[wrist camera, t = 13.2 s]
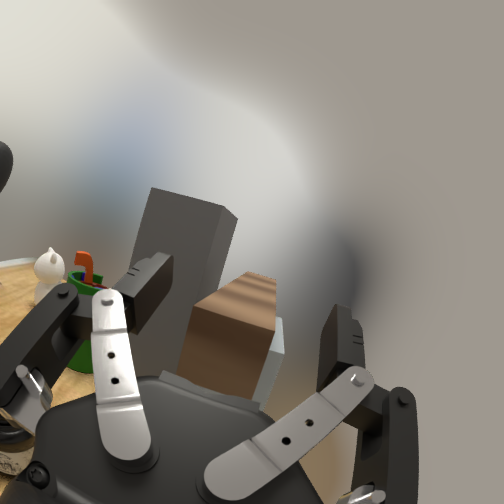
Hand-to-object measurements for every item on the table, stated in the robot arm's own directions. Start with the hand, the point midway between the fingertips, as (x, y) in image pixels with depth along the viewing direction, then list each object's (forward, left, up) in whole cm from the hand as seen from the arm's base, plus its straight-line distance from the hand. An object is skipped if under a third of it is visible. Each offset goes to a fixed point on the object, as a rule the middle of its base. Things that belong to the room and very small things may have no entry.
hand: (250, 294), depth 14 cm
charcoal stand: (+11, +23, -27) cm, 37 cm away
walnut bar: (+8, +7, -5) cm, 11 cm away
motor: (+4, +39, -27) cm, 48 cm away
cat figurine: (+1, +62, -27) cm, 68 cm away
